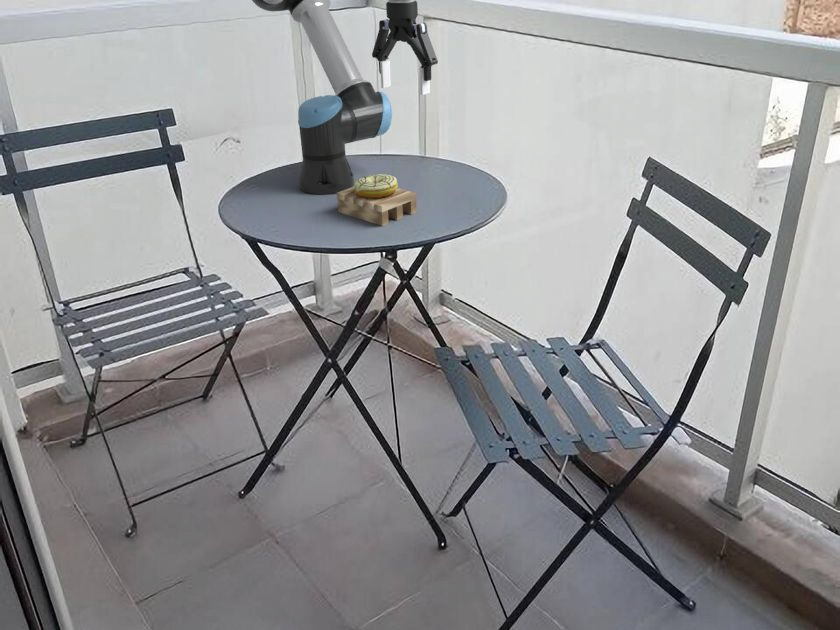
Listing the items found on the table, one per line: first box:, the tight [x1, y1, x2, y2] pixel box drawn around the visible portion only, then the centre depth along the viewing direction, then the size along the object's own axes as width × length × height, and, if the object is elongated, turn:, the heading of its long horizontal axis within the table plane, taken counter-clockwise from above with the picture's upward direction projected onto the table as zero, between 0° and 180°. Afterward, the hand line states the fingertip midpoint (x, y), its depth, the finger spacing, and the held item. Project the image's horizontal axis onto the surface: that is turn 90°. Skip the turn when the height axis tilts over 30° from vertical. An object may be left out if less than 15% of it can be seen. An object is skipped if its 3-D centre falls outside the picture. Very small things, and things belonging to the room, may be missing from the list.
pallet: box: [336, 186, 418, 227], centre depth 203 cm, size 16×12×5 cm
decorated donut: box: [353, 173, 399, 198], centre depth 202 cm, size 10×11×4 cm
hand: (405, 90), depth 205 cm, fingers open, 13 cm apart
